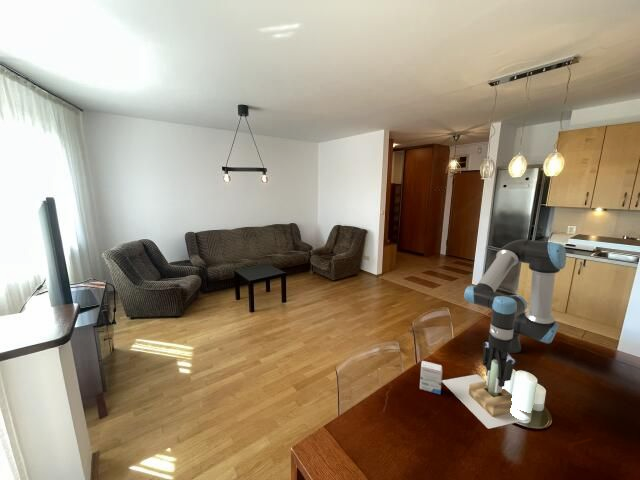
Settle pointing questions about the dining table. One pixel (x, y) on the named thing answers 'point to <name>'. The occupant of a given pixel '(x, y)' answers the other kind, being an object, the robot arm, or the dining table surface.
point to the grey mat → (462, 393)
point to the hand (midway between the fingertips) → (493, 388)
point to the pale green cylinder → (493, 378)
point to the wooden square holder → (491, 399)
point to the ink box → (431, 377)
